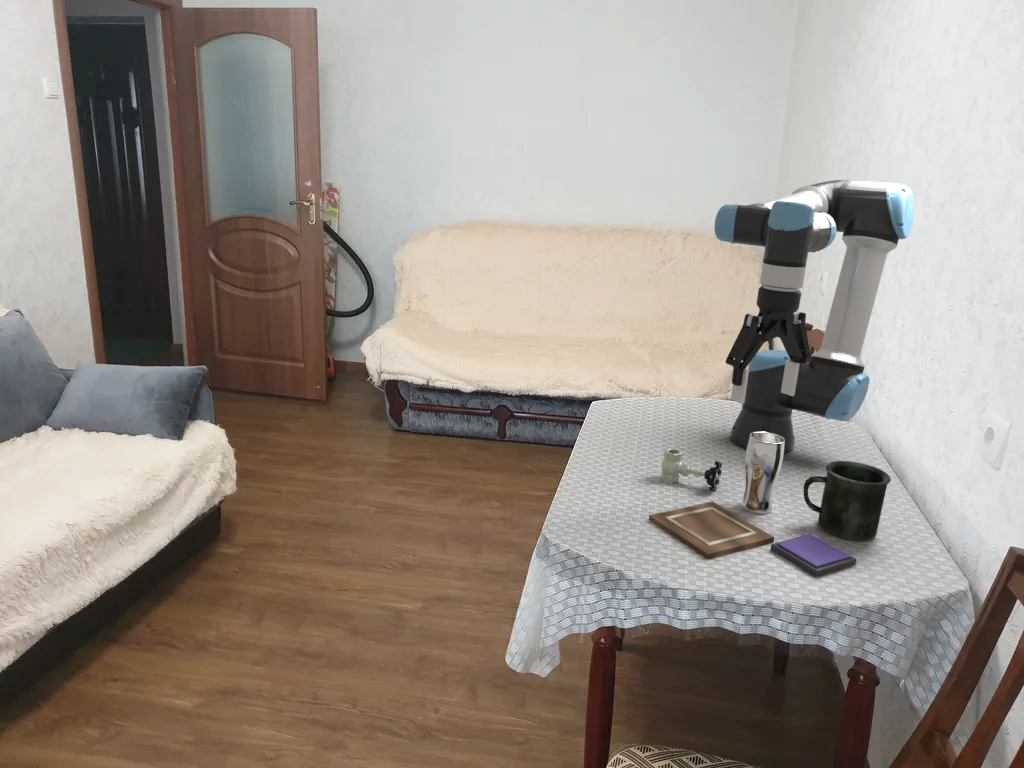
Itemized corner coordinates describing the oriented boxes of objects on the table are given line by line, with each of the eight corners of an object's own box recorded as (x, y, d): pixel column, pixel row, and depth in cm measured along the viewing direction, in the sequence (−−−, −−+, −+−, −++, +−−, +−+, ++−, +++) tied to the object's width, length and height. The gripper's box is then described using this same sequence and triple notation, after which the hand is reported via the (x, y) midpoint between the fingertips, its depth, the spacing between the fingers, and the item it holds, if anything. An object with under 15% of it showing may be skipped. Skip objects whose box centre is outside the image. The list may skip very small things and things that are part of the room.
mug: (884, 547, 141) (898, 487, 137) (801, 535, 144) (812, 476, 140) (871, 522, 151) (883, 465, 148) (793, 511, 154) (803, 455, 150)
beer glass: (732, 499, 157) (743, 430, 153) (765, 500, 158) (777, 431, 154) (745, 515, 151) (757, 443, 146) (779, 515, 151) (792, 444, 147)
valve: (655, 482, 163) (711, 497, 158) (659, 453, 162) (716, 467, 156) (665, 472, 169) (719, 486, 164) (668, 444, 167) (723, 457, 162)
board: (711, 506, 154) (712, 500, 153) (773, 541, 140) (774, 536, 140) (648, 520, 146) (649, 514, 146) (707, 559, 133) (708, 553, 132)
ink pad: (808, 539, 142) (810, 531, 142) (855, 565, 134) (857, 557, 133) (770, 550, 137) (771, 542, 137) (816, 577, 129) (817, 568, 129)
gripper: (809, 282, 151) (792, 385, 157) (715, 286, 139) (700, 398, 145) (842, 288, 145) (822, 396, 151) (747, 294, 133) (730, 411, 139)
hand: (762, 397), depth 148 cm, fingers open, 13 cm apart
